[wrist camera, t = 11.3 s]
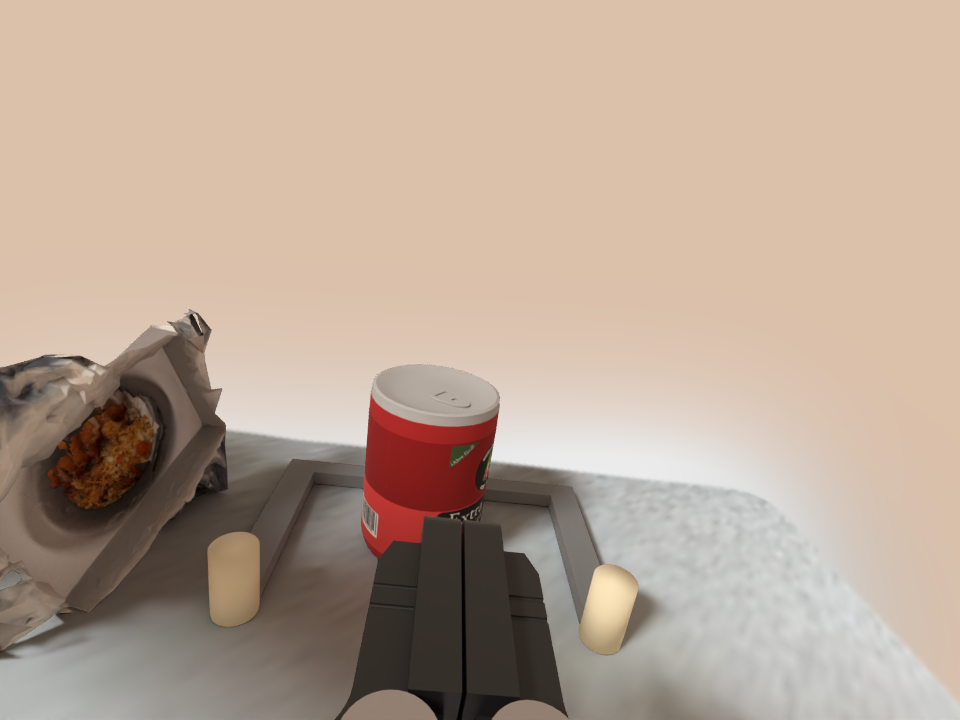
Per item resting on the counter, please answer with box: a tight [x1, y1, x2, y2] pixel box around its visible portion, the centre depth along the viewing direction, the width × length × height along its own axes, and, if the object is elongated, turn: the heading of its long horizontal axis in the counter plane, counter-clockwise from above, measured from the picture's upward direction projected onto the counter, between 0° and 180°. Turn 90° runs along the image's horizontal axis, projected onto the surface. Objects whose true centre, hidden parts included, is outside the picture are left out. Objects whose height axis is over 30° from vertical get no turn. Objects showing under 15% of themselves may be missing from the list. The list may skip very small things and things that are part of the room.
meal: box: [0, 309, 228, 651], centre depth 28 cm, size 15×4×13 cm, turn 169°
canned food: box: [361, 364, 500, 559], centre depth 34 cm, size 8×8×11 cm
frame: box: [207, 459, 639, 655], centre depth 34 cm, size 22×15×4 cm, turn 92°
